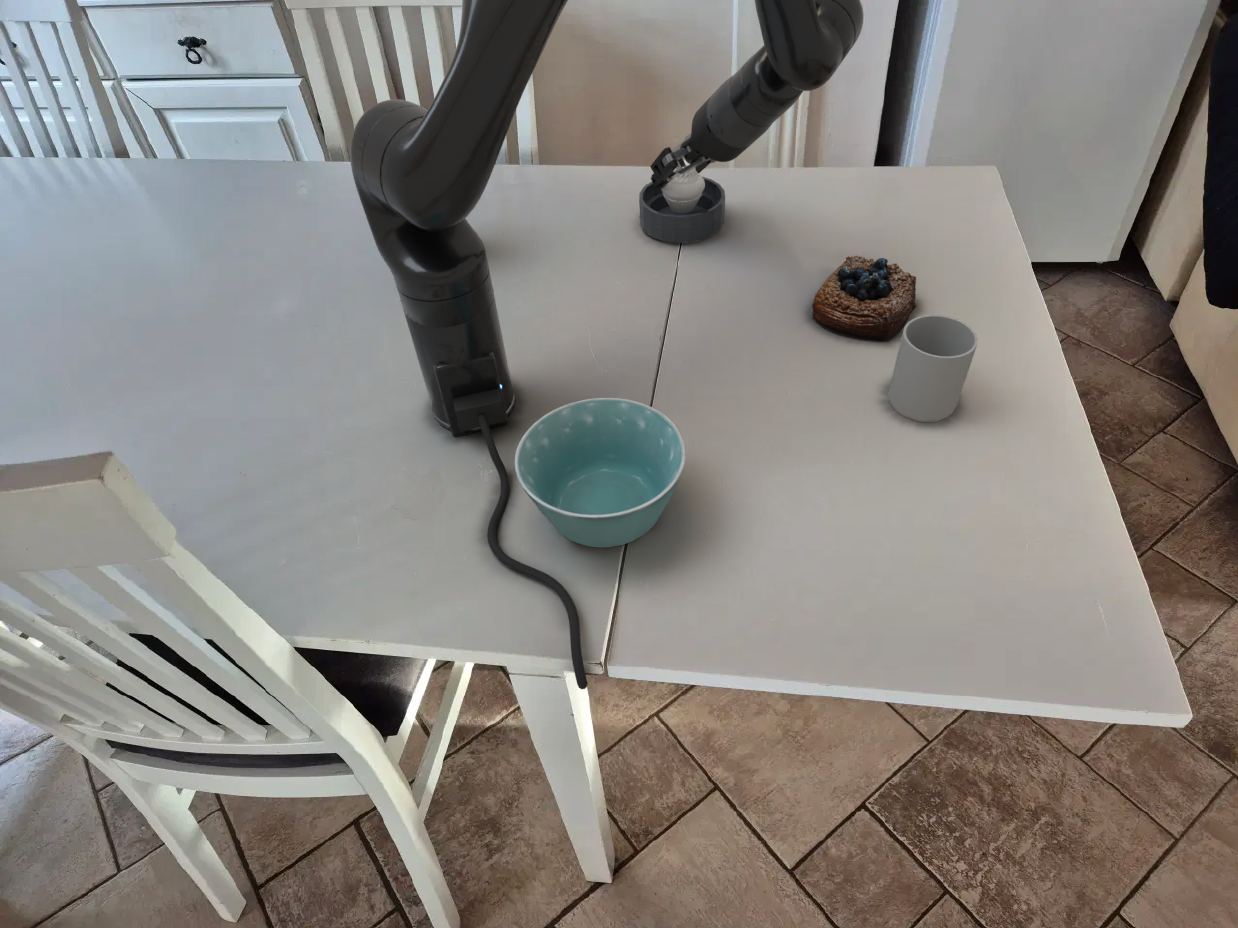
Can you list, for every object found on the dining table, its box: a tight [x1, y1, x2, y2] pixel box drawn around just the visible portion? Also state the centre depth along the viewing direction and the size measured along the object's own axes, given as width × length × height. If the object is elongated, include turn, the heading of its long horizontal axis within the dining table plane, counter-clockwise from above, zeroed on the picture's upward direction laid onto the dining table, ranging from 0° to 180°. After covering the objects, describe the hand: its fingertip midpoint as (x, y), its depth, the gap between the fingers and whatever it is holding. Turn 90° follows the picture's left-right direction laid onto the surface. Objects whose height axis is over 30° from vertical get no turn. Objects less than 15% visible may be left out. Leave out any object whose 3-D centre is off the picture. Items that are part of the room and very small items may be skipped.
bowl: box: [514, 397, 687, 548], centre depth 77 cm, size 16×16×8 cm
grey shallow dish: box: [638, 176, 726, 244], centre depth 116 cm, size 12×12×4 cm
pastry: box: [811, 255, 918, 343], centre depth 99 cm, size 11×12×6 cm
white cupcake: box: [661, 159, 705, 214], centre depth 113 cm, size 6×6×7 cm
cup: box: [887, 314, 979, 423], centre depth 86 cm, size 7×10×9 cm
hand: (674, 175), depth 113 cm, fingers closed on white cupcake, 6 cm apart
